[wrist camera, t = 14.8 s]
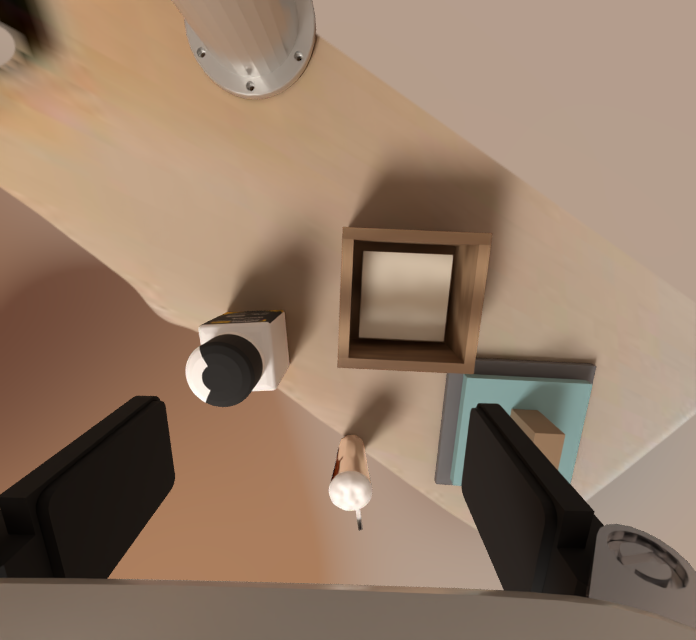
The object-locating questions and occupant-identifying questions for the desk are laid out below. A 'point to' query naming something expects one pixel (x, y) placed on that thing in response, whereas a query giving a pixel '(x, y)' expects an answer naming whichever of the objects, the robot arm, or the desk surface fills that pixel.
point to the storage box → (411, 299)
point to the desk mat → (500, 369)
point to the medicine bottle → (238, 356)
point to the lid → (528, 414)
